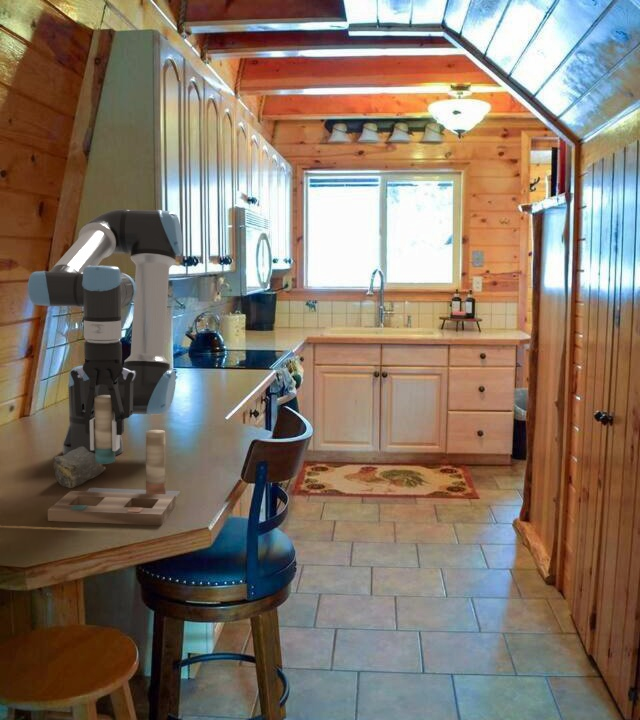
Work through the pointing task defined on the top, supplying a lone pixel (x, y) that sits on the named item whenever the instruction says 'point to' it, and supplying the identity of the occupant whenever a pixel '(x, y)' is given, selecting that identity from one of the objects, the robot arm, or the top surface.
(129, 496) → the socket board
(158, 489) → the peg
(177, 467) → the top surface
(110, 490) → the mat
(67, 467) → the rock
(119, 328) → the robot arm
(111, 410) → the peg
